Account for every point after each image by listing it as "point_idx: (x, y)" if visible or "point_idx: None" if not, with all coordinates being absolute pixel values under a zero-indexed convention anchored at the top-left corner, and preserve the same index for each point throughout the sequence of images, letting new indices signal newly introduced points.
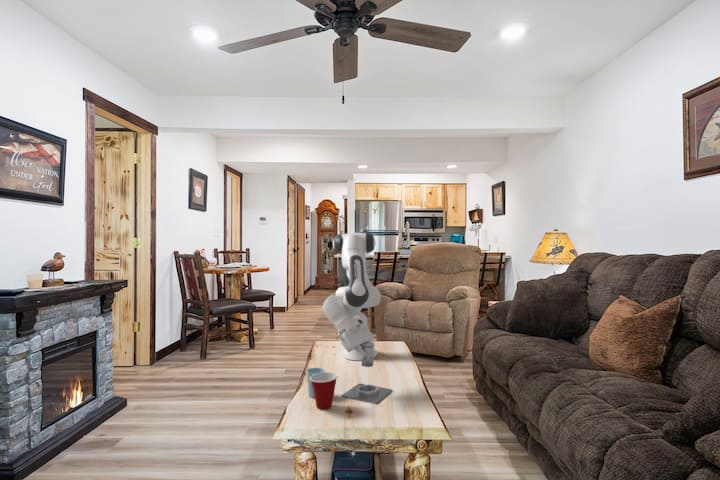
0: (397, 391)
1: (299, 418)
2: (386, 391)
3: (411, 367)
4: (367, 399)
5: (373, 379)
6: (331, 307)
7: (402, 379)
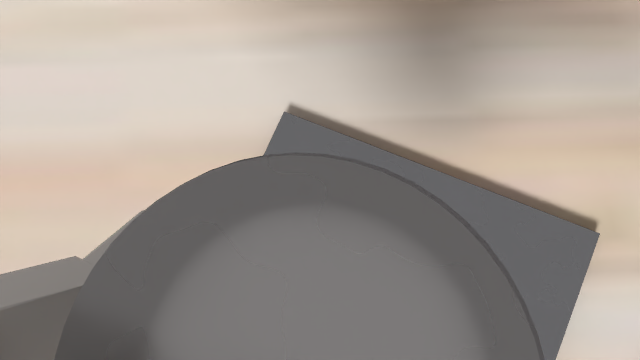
0: (294, 78)
1: None
2: None
3: None
4: (541, 318)
5: None
6: None
7: (31, 46)
